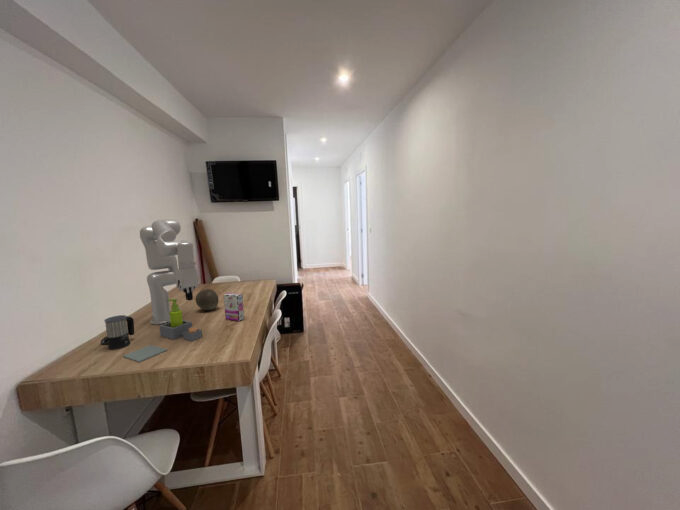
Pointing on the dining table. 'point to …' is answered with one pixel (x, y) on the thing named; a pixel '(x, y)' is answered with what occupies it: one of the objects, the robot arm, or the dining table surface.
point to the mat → (145, 353)
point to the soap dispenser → (175, 314)
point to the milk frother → (118, 331)
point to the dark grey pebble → (207, 299)
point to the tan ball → (192, 329)
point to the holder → (179, 331)
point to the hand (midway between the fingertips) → (189, 299)
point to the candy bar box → (234, 306)
